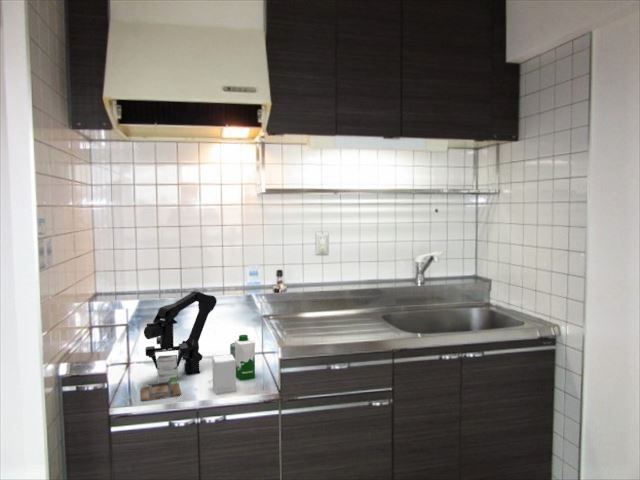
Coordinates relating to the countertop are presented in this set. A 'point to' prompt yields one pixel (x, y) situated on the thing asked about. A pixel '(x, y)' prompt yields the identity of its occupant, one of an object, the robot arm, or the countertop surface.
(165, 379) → the ink box
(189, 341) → the robot arm
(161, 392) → the base plate
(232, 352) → the canned tomato
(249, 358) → the milk carton
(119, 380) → the countertop surface
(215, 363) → the supplement box
